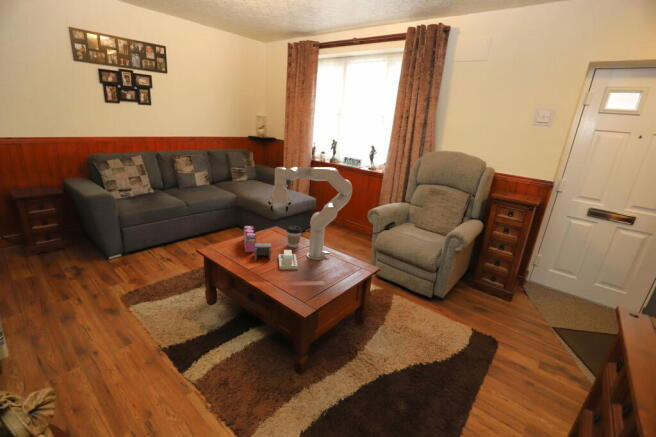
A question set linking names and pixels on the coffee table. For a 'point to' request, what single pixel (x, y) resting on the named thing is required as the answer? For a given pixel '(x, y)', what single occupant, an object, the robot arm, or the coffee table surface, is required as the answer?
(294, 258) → the tray
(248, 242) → the gum box
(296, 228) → the coffee cup
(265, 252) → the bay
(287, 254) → the teal-tabbed cream block
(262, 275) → the coffee table surface
